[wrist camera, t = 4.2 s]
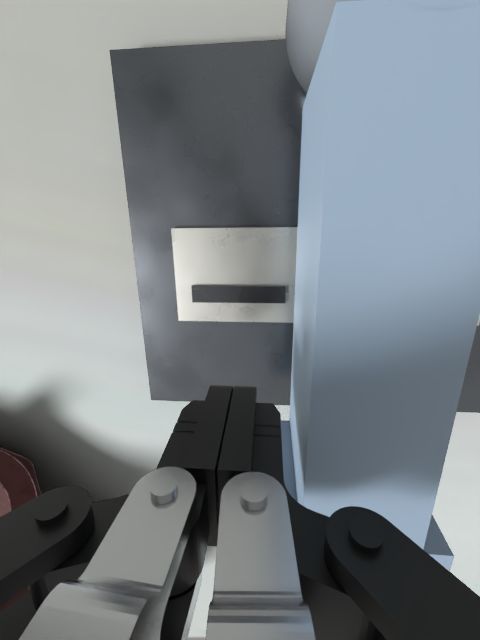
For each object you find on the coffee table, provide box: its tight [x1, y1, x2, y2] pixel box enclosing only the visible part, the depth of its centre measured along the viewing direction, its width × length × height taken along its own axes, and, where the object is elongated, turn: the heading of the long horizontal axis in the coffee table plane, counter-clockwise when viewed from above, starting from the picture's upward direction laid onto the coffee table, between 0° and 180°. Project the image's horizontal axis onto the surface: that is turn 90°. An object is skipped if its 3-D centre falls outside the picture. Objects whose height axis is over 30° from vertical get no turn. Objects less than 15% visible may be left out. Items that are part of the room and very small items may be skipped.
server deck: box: [110, 40, 480, 413], centre depth 14 cm, size 16×18×4 cm
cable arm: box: [281, 0, 480, 572], centre depth 9 cm, size 17×5×6 cm, turn 1°
